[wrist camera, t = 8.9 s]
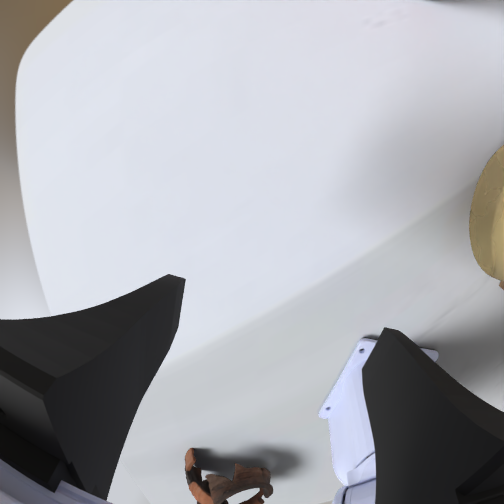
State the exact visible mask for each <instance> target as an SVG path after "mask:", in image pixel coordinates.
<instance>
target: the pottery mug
mask: <svg viewBox="0 0 504 504" xmlns="http://www.w3.org/2000/svg"><path fill="white" fill-rule="evenodd" d="M195 462H196V458H195V457H194V449H193V448H190V449H189V450H188V451H187V453H186V456H185V464H186V465H185V471H186V479H187V483H188V485H189V489H190V491H191V492H192V495H193V496H194V497H195V499H196V500H197V504H228V501H227V500H226V499H227V498H229V497H231V496H232V495H234V494H236V493H239V492H241V491H244V490H248V489H252V488H260V491H259V492H258V493H257V494H256V495H254V496H253V497H252V498H250V499H249V500H247V501H244V502H242V503H239V504H263V503H264V500H263V499H262V498H261V497H262V495H263V494H264V496H265V498H268V497H269V496H270V495H272V493H273V487H272V485H270V472H269V471H268V470H267V469H265V468H259V467H252V468H245V467H243V466H241V465H239V464H237V463H235V472H234V477H233V480H232V481H231V480H229V479H228V478H226V477H223V476H217V475H215V474H208V475H206V476H205V477H206V478H207V479H206V480H203V481H202V477H201V469H200V468H196V467H194V466H193V465H194V463H195Z"/></svg>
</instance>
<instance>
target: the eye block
mask: <svg viewBox="0 0 504 504" xmlns="http://www.w3.org/2000/svg"><path fill="white" fill-rule="evenodd" d="M499 286H500V287H501V288H502V289H503V290H504V281H501V282H500V285H499Z"/></svg>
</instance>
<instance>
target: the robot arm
mask: <svg viewBox="0 0 504 504" xmlns="http://www.w3.org/2000/svg"><path fill="white" fill-rule="evenodd" d="M185 280H186V279H184V278H181V277H177V276H174V275H170V274H168V275H165V276H163V277H161V278H159V279H157V280H155V281H153V282H151V283H149V284H147V285H145V286H143V287H141V288H139V289H137V290H135V291H133V292H131V293H128V294H126V295H123V296H121V297H119V298H116V299H114V300H111V301H109V302H106V303H104V304H101V305H98V306H95V307H91V308H88V309H84V310H81V311H77V312H72V313H67V314H61V315H56V316H51V317H43V318H34V319H19V320H1V319H0V504H112V503H110V502H107V501H106V500H107V497H108V493H109V489H110V486H111V483H112V479H113V476H114V473H115V469H116V467H117V463H118V460H119V457H120V454H121V451H122V449H123V446H124V443H125V440H126V438H127V435H128V432H129V429H130V427H131V424H132V422H133V419H134V417H135V414H136V412H137V409H138V407H139V404H140V402H141V400H142V398H143V396H144V394H145V392H146V391H147V389H148V387H149V385H150V383H151V382H152V380H153V378H154V376H155V375H156V373H157V371H158V369H159V367H160V366H161V364H162V362H163V360H164V358H165V357H166V355H167V353H168V351H169V349H170V347H171V344H172V342H173V339H174V337H175V334H176V332H177V329H178V326H179V319H180V312H181V305H182V299H183V293H184V286H185ZM362 348H364V349H363V350H360V349H362ZM438 357H439V354H438V352H437V351H435V350H429V349H423V348H419V347H418V346H417V345H416V344H415V343H414V342H413V341H411V340H410V339H409V338H408V337H407V336H406V335H404V334H403V333H402V332H400V331H399V330H395V329H390V328H385V327H384V329H383V331H382V333H381V335H380V337H379V339H378V340H373V339H368V338H364V339H361V340H360V341H359V342H358V344H357V346H356V348H355V350H354V352H353V354H352V355H351V357H350V359H349V361H348V363H347V365H346V366H345V368H344V370H343V372H342V374H341V375H340V377H339V379H338V381H337V383H336V384H335V386H334V388H333V389H332V391H331V393H330V394H329V396H328V398H327V400H326V401H325V403H324V404H323V406H322V408H321V409H320V411H319V417H320V418H325V419H328V422H329V431H330V441H331V451H332V462H333V468H334V472H335V474H336V476H337V477H338V479H339V480H340V481H341V482H342V483H343V484H344V485H345V486H344V487H342V488H340V489H339V490H338V491H337V493H336V495H335V498H334V500H333V502H332V504H504V412H502V411H500V410H498V409H497V408H495V407H493V406H491V405H490V404H488V403H486V402H485V401H483V400H482V399H480V398H479V397H477V396H476V395H474V394H473V393H471V392H470V391H469V390H467V389H466V388H465V387H463V386H462V385H461V384H459V383H458V382H457V381H456V380H455V379H453V378H452V377H451V376H450V375H449V374H448V373H446V372H445V371H444V370H443V369H442V368H441V367H440V366H439V365H437V364H436V363H435V362H436V361H437V359H438Z"/></svg>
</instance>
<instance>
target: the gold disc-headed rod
mask: <svg viewBox="0 0 504 504" xmlns="http://www.w3.org/2000/svg"><path fill="white" fill-rule="evenodd" d="M469 231H470V241H471V247H472V251H473V254H474V256H475V259H476V261H477V263H478V264H479V266H480V267H481V269H482V270H483V271H484V272H485V273H487V274H488V275H489V276H491V277H493V278H496V279H498V280H501V281H504V145H503V146H502V147H501V148H500V149H498V150H497V151H496V153H495V154H494V155H493V156H492V157H491V159H490V160H489V161H488V163H487V165H486V166H485V168H484V170H483V172H482V174H481V176H480V178H479V181H478V183H477V186H476V189H475V192H474V196H473V200H472V204H471V211H470V221H469Z"/></svg>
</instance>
